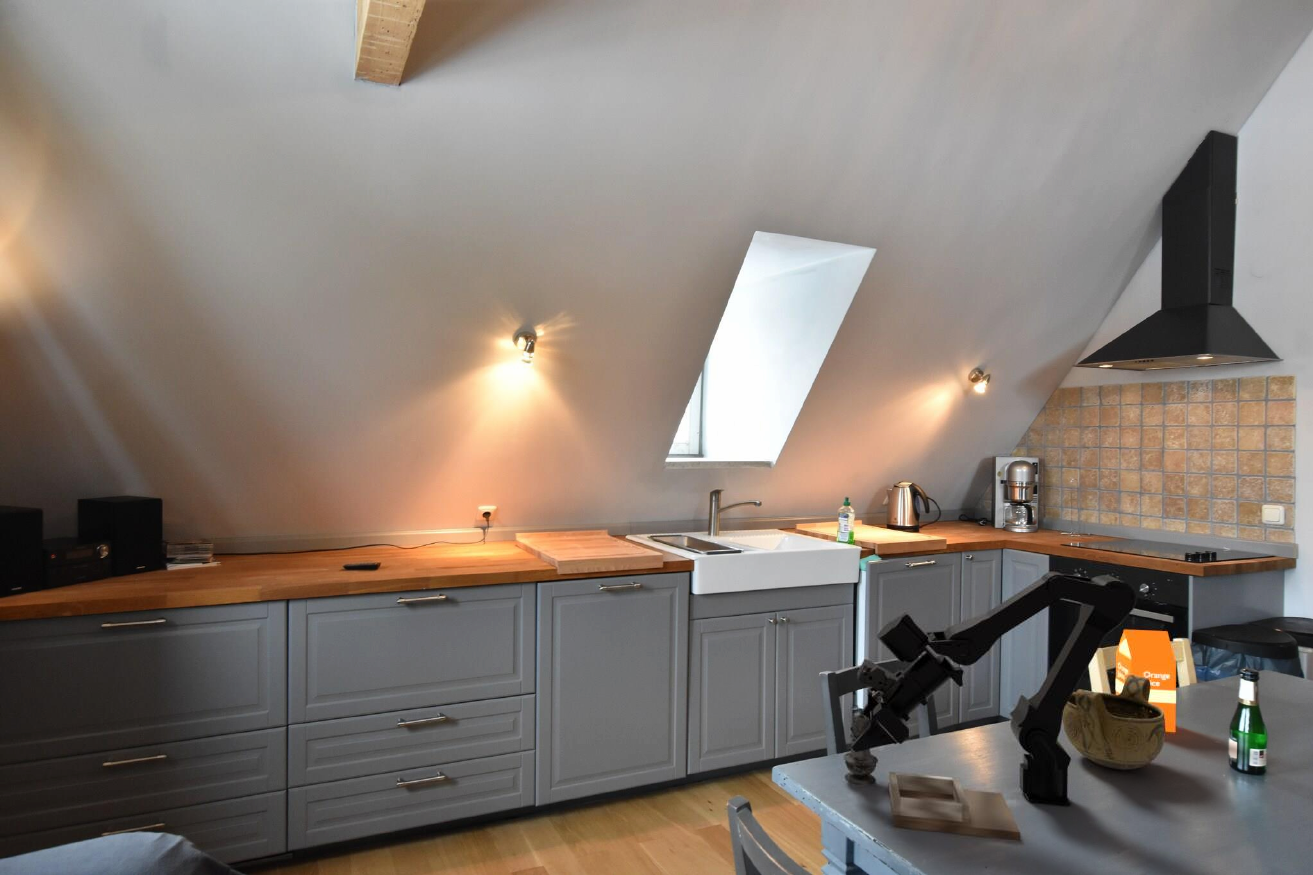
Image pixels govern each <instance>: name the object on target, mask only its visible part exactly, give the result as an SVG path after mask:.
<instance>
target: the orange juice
mask: <svg viewBox="0 0 1313 875" xmlns="http://www.w3.org/2000/svg"><path fill="white" fill-rule="evenodd" d="M1121 635H1122V636H1121V637H1120V641H1119V644H1118V647H1117V649H1116V651H1115V695H1119V694H1120V693H1121V692H1122V689H1123V686H1124V683H1125V680H1126V678H1127V676H1128V675H1136V676H1140V677H1143V678H1147V679H1149V681H1150V684H1151V688H1150V695H1149V701H1148V703H1150V704H1153V705H1155V706H1157V707H1159V708H1160V709H1162V710H1163V712H1164V717H1165V728H1166V733H1167V732H1168V733H1176V713H1177V712H1176V708H1177V707H1176V706H1177V705H1176V704H1177V689H1176V688H1177V687H1176V686H1177V684H1176V682H1177V661H1176V658H1175V655H1174V654H1175V653H1174V652H1173V648H1172V647H1173V646H1172V644H1171V641H1170V636H1169V633H1168V631H1167V630H1166V631H1165V630H1164V631H1162V630H1146V629H1145V630H1141V629H1123V633H1122V634H1121Z"/></svg>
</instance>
